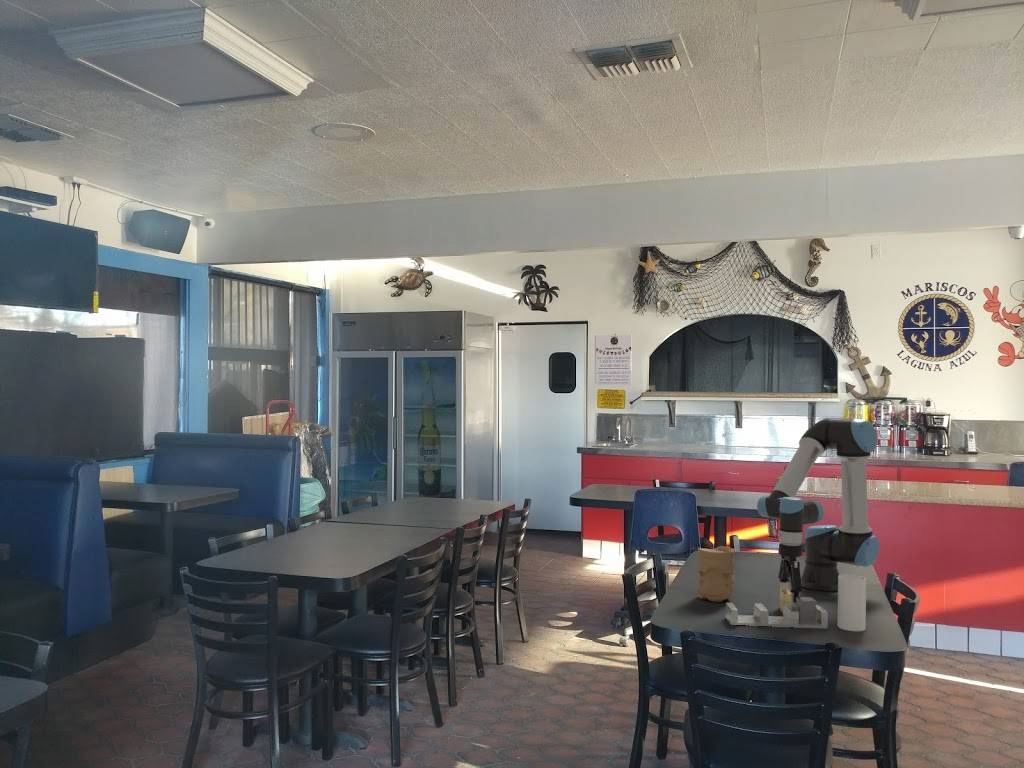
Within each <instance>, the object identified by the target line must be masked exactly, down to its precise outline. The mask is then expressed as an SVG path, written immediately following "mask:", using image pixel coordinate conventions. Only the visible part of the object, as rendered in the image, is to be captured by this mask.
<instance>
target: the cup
mask: <svg viewBox="0 0 1024 768" xmlns="http://www.w3.org/2000/svg"><path fill="white" fill-rule="evenodd" d="M866 606H867V578H866V577H865V576H861V575H857V574H847V573H846V574H843V573H842V574H839V576H838V590H837V627H838V628H839V629H841V630H844V631H848V632H849V631H850V632H864V631H865V630H866V627H867V626H866V624H867V623H866V618H867V616H866V615H867V614H866V613H867V611H866V610H867V609H866Z"/></svg>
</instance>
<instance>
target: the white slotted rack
mask: <svg viewBox="0 0 1024 768" xmlns="http://www.w3.org/2000/svg"><path fill="white" fill-rule="evenodd" d="M725 619H726V620H727V622H728V621H729V622H728V623H729V625H730V624H731V625H746V626H745V627H757V626H769V627H768V628H790V627H794V628H796V629H797V628H799V629H825V630H826V629H829V628H828V626H829V625H828V623H829V620H828V619H829V612H828V611H827V610H825V608H823V607H822V606H821V605H819V604H817V600H816V599H814V597H810V596H809V597H808V596H800V597H796V609H795V608H794V607H793V606H792V605H791V604H783V613H782V616H774V615H771V616H770V615H769V610H768V609H767V608H766V607H765V605H763V603H758V602H757V603H753V615H750V614H749V615H745V614H743V615H741V614H739V610H738V608H737V607H736V605H735V604H734V603H733V602H725ZM731 625H730V626H731ZM748 625H749V626H748ZM770 626H772V627H770ZM794 628H793V629H794Z"/></svg>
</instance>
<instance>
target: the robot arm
mask: <svg viewBox="0 0 1024 768" xmlns="http://www.w3.org/2000/svg"><path fill="white" fill-rule="evenodd" d="M877 444H878V434H877V431H876V429H875V427H874V425H873V424H872V423H871V422H870V421H869V420H867V419H859V418H843V417H841V418H839V417H826V418H824V419H820V420H819V421H817V422H816V423H814V424H813V425H811V426H810V427H809V428H808V429H807V430H806V431H805V432H804V434H803V435H802V436H801V437H800V439H799V440H798V445H799V446H798V448H797V450H796V451H795V453H794V454H793V456H792V458H791V460H790V461H789V463H788V464H787V467H786V468H785V470H784V471H783V473H782V475H780V476H781V477H780V478H779V480H778V482H777V483H776V485H775V486H774V488H773V489H772V491H771V493H770V494H769V495H763V496H761V497H760V498H759V499H758V501H757V503H756V510H757V512H758V514H759V515H760V516H761V517H763V518H768V519H774V520H779V527H778V528H779V531H778V532H779V533H777V537H778V538H779V539H778V540H779V544H778V554H779V555H780V556H781V557H780V565H779V571H778V576H777V579H779V594H780V593H781V590H790V592H791V605H792V606H793V607H794V608H795V609H796V597H801V596H800V594H801V593H802V592H803V588H805V589H808V590H814V591H824V592H825V591H826V592H834V591H838V576H839V575H840V571H839V569H838V563H840V564H845V565H846V564H847V565H851V566H855V567H863V568H867V567H870V566H872V565H873V564H874V563H875V561H876V559H878V555H879V553H880V546H881V545H880V543H881V542H880V540H879V538H878V537H877V536H876V535H873V528H872V527H871V526H870V525H869V522H868V521H869V520H868V517H869V515H868V482H867V480H868V479H867V460H868V459H869V458H870V457H871V453H872V452H873V451H875V450H876V448H877ZM827 450H836V451H835V452H836V457H838V459H839V460H840V463H841V464H840V466H841V467H840V468H841V469H840V470H841V471H840V473H841V504H842V505H841V506H842V508H841V509H842V510H841V511H842V514H841V515H842V524H841V525H840V526H839V527H838V526H837V525H834V524H833V525H831V524H830V525H829V524H828V525H825V524H823V525H813V526H812V524H815V523H818V522H820V521H821V520H823V517H824V515H825V512H824V511H825V509H824V507H823V505H822V504H821V503H820V502H819V501H816V500H808V501H806V500H803V498H801V497H796V495H797V493H798V491H799V490H800V488H801V487H802V485H803V483H804V481H805V480H806V478H807V476H808V474H809V473H810V471H811V470H812V468H813V466H814V465H815V463H816V461H817V460H818V457H821V456H823V455H824V453H825V451H827ZM808 524H809V525H810V524H811V526H809V527H807V528H806V529H805V535H804V531H803V529H804V525H808ZM803 536H804V539H803ZM803 542H804V567H803V570H802V572H801V568H800V567H801V565H800V564H801V563H800V561H797V558H800V557H802V556H803ZM789 584H790V585H789ZM789 586H790V588H791V589H790V588H789Z"/></svg>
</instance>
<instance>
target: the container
mask: <svg viewBox="0 0 1024 768" xmlns="http://www.w3.org/2000/svg"><path fill="white" fill-rule="evenodd" d="M697 550H698V551H697V554H698V556H697V570H698V571H697V597H698V599H700V600H709V601H710V602H714V603H722V602H723V601H725V600H727V599H729V598H731V597H732V595H733V594H734V589H735V575H734V573H735V572H734V571H735V558H734V557H735V548H731V547H729V546H724V545H723V546H722V545H721V546H718V547H715V548H713V549H709V548H701V547H698V548H697Z"/></svg>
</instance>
